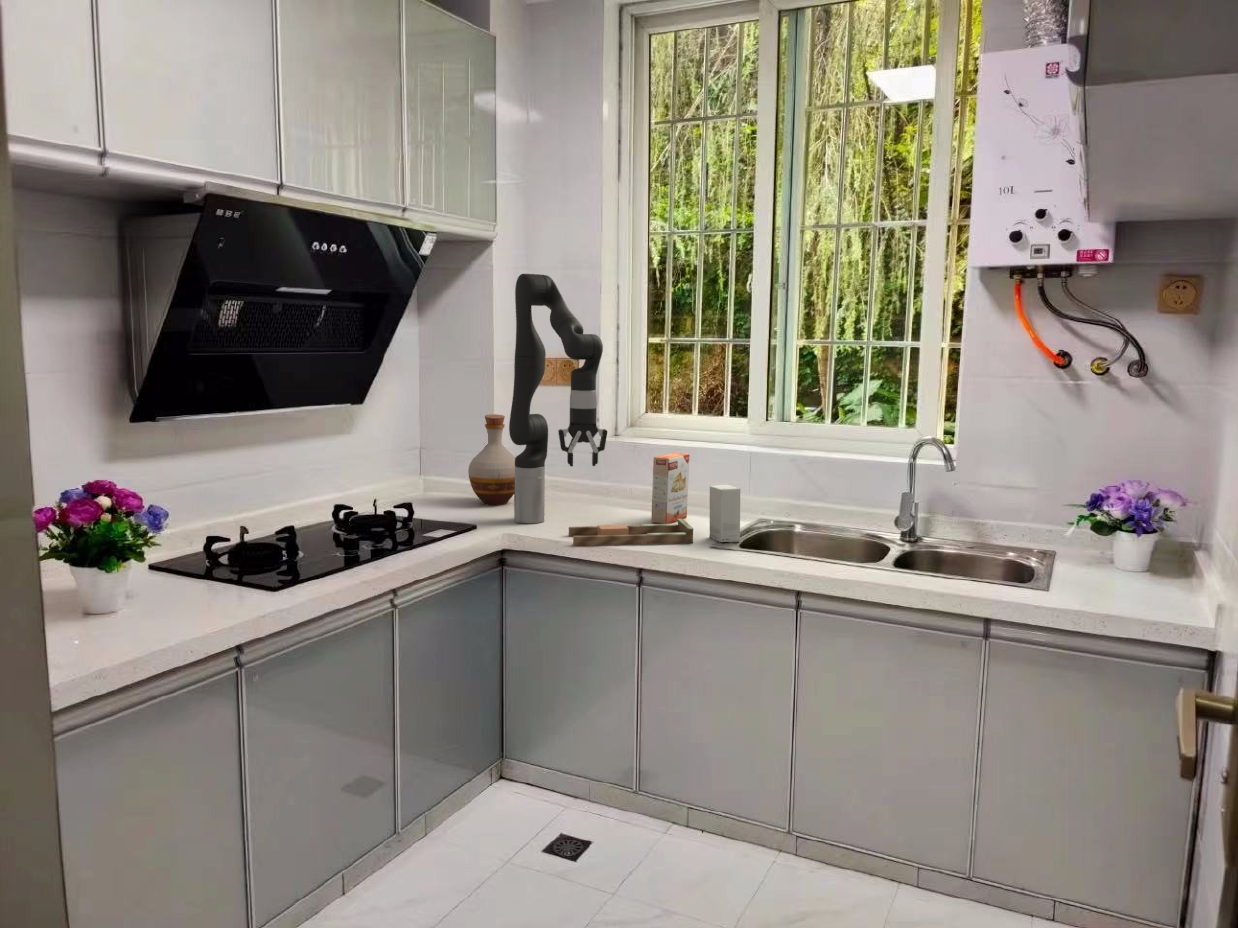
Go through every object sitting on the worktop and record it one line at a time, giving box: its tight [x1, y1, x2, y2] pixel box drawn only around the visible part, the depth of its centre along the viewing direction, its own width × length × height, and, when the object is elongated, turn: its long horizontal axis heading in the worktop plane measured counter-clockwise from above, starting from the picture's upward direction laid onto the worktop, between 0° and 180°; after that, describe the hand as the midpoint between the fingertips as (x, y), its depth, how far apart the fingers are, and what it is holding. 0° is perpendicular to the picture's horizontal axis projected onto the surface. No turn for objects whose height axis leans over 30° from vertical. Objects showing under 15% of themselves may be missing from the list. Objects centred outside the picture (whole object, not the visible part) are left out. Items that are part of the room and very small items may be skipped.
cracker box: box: [650, 452, 690, 524], centre depth 291 cm, size 14×6×21 cm, turn 148°
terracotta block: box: [597, 523, 629, 535], centre depth 266 cm, size 8×5×4 cm, turn 103°
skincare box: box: [709, 484, 741, 543], centre depth 267 cm, size 8×7×16 cm
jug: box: [467, 413, 516, 506], centre depth 314 cm, size 20×18×30 cm
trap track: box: [568, 518, 694, 547], centre depth 266 cm, size 34×13×4 cm, turn 99°
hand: (582, 465), depth 261 cm, fingers open, 5 cm apart
